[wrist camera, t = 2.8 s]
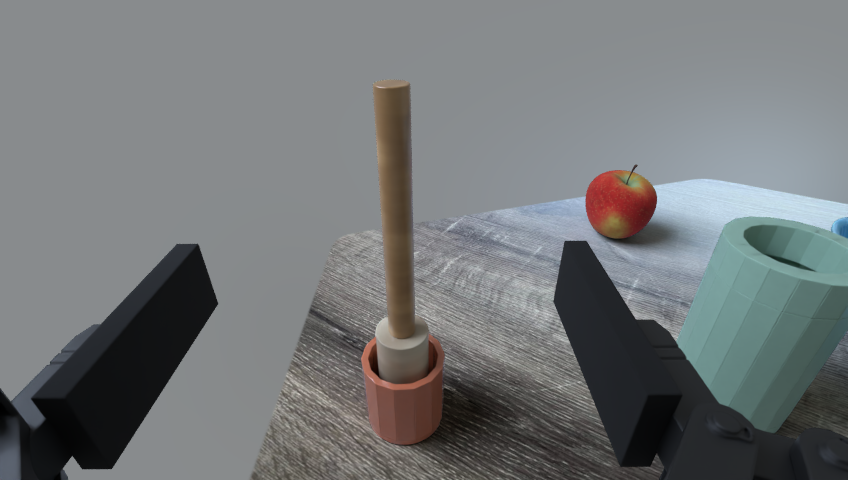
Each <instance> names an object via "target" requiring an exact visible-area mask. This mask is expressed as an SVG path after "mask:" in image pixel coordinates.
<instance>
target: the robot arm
mask: <svg viewBox="0 0 848 480" xmlns="http://www.w3.org/2000/svg"><path fill="white" fill-rule="evenodd" d="M553 302H554V304H555V307H556V309H557V311H558V314H559V316H560V319H561V321H562V324H563V326H564V329H565V331H566V334H567V336H568V339H569V341H570V344H571V346H572V348H573V351H574V353H575V356H576V358H577V361H578V363H579V366H580V368H581V371H582V373H583V376H584V378H585V381H586V383H587V385H588V388H589V390H590V393H591V395H592V398H593V400H594V403H595V405H596V408H597V410H598V413H599V415H600V418H601V420H602V422H603V425H604V427H605V430H606V432H607V435H608V437H609V440H610V442H611V445H612V447H613V450H614V452H615V455H616V457H617V460H618V462H619V464H620V467H650V466H651V464H652V462H653V459H654V457H655V455H656V453H657V454H658V456H659V458H660V460H661V462H662V464H663V466H664V470H663V472H662V474H661V476H660V478H659V480H848V438H846V437H845V436H842V435H840V434H838V433H835V432H833V431H831V430H826V429H821V428H809V429H805V430H804V431H803V432H802V433H801V434H800V435H799V436H798V438H797V439H793V438H789V437H786V436H782V435H778V434H774V433H770V432H766V431H762V430H759V429H756V428H754V426H753V424H752V423H751V422H750V421H749V420H748V419H746V418H745V417H744V416H743V415H742V414H741V413H739V412H737V411H736V410H734V409H732V408H731V407H728V406H725V405H722V404H719V402H718V401H717V400H716V398H715V397H714V395H713V394H712V393H711V391H710V390H709V388H708V387H707V385H706V384H705V383H704V381H703V380H702V378H701V377H700V375H699V374H698V373H697V371H696V370H695V368H694V367H693V366H692V364H691V363H690V361H689V360H687V359H686V356H685V354H684V353H683V351H682V350H681V348H679V347H678V344H677V343H676V341H675V340H674V338H673V337H672V336H671V334H670V333H669V331H667V330H666V329H665V328H663V327H662V326H661V325H660V324H658V323H657V322H656V321H654V320H636V319H635V318H634V316H633V314H632V313H631V311H630V310H629V308H628V306H627V305H626V303H625V302H624V300H623V298H622V297H621V295H620V294H619V292H618V291H617V289H616V287H615V286H614V284H613V283H612V281H611V279H610V278H609V276H608V275H607V273H606V271H605V270H604V268H603V267H602V265H601V263H600V262H599V260H598V259H597V257H596V256H595V254H594V252H593V251H592V249H591V248H590V246H589V244H588V243H587V241H565V242H564V248H563V253H562V258H561V264H560V269H559V274H558V280H557V285H556V290H555V296H554V301H553ZM217 305H218V302H217V299H216V296H215V293H214V290H213V287H212V284H211V281H210V278H209V275H208V272H207V269H206V266H205V263H204V260H203V257H202V254H201V251H200V248H199V245H198V244H177V245H176V246H175V247H174V248H173V249H172V250H171V251H170V252H169V253H168V254H167V255H166V256H165V257H164V258H163V259H162V260H161V262H160V263H159V264H158V265H157V266H156V267H155V268H154V269H153V270H152V271H151V272H150V273H149V274H148V275H147V276H146V277H145V278H144V279H143V280H142V282H141V283H140V284H139V285H138V286H137V287H136V288H135V289H134V290H133V291H132V292H131V293H130V294H129V295H128V296H127V297H126V298H125V299H124V300H123V302H122V303H121V304H120V305H119V306H118V307H117V308H116V309H115V310H114V311H113V312H112V313H111V314H110V315H109V316H108V317H107V318H106V319H105V321H104V322H103V323H102V324H100V325H98V324H97V325H92V326H91V327H89V328H88V329H86V330H85V331H83V332H82V333H80V334H79V335H77V336H75V337H74V339H72V340H71V341H70V342H69V343H68V344H67V345H66V346H65V347H64V348H63V349H62V351H61V353H59V354H58V355H56V356H55V358H54V359H53V360H52V361H51V362H50V365H47V366H46V367H45V368H44V369H43V370H42V371H41V372H40V373H39V374H38V375H37V376H36V377H35V378H34V379H33V380H32V381H31V382H30V383H29V384H28V385H27V386H26V387H25V388H24V389H23V390H22V391H21V392H20V393H19V394H18V395H17V396H16V397H15V398H14V399H13V400H12V401H10V400H9V399H8V398H7V397H6V395H5V394H4V392H3V391H2V390H1V389H0V480H68V477H67V475H66V473H65V471H64V470H63V467H64V466H65V465H66V463H67V462H68V461H69V459H70V458H71V457H72V456H73V457H74V459H75V460H76V461H77V463H78V464H79V465H80V467H81V468H82V469H112V468H113V466H114V465H115V463H116V462H117V460H118V459H119V457H120V455H121V454H122V452H123V451H124V449H125V448H126V446H127V445H128V443H129V442H130V440H131V438H132V437H133V435H134V434H135V432H136V431H137V429H138V428H139V426H140V424H141V423H142V421H143V420H144V418H145V417H146V415H147V414H148V412H149V410H150V409H151V407H152V406H153V404H154V403H155V401H156V400H157V398H158V397H159V395H160V393H161V392H162V390H163V389H164V387H165V386H166V384H167V383H168V381H169V379H170V378H171V376H172V375H173V373H174V372H175V370H176V369H177V367H178V365H179V364H180V362H181V361H182V359H183V358H184V356H185V354H186V353H187V351H188V350H189V348H190V347H191V345H192V344H193V342H194V341H195V339H196V337H197V336H198V334H199V333H200V331H201V330H202V328H203V327H204V325H205V323H206V322H207V320H208V319H209V317H210V316H211V314H212V313H213V311H214V310H215V308H216V306H217Z"/></svg>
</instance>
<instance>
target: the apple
mask: <svg viewBox="0 0 848 480" xmlns="http://www.w3.org/2000/svg"><path fill="white" fill-rule="evenodd" d="M636 167H637V165H635V166H634V167H633V169H632V172H630V171H622V170H615V171H609V172H605V173H602V174H600V175H599V176H597V177H596V178H595V179H594V180H593V181H592V182H591V183H590V185H589V187H588V190H587V194H586V212H587V216H588V219H589V221H590V223H591V225H592V226H593V228H594V229H595V230H596V231H597V232H599V233H600V234H602V235H604V236H607V237H610V238H626V237H630V236H632V235H634V234H636V233H638V232H639V231H640V230H642V229H643V228H644V227H645V226H646V225H647V223H648V222H649V221H650V219H651V218H652V216H653V214H654V211H655V208H656V204H657V195H656V191H655V189H654V187H653V186H652V185H651V184H650V182H649V181H648V180H646V179H645V178H644V177H642V176H641V175H639V174H636V173H634V172H633V170H634V169H635V168H636Z"/></svg>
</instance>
